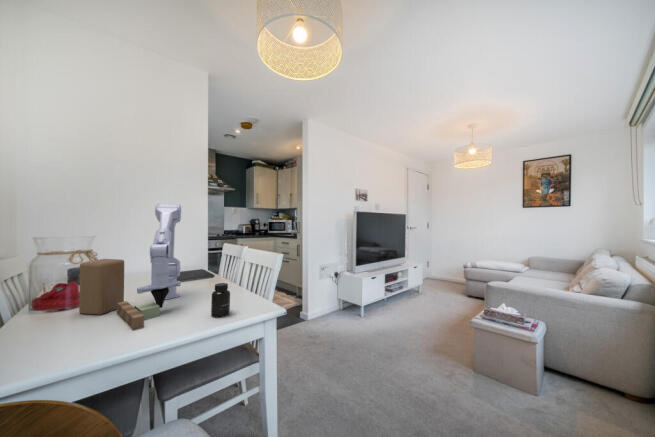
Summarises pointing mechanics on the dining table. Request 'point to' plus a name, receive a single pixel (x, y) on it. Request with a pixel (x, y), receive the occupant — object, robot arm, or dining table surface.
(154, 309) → the sage block
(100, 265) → the block
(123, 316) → the notched wooden bar
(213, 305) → the supplement bottle
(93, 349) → the dining table surface
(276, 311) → the dining table surface
